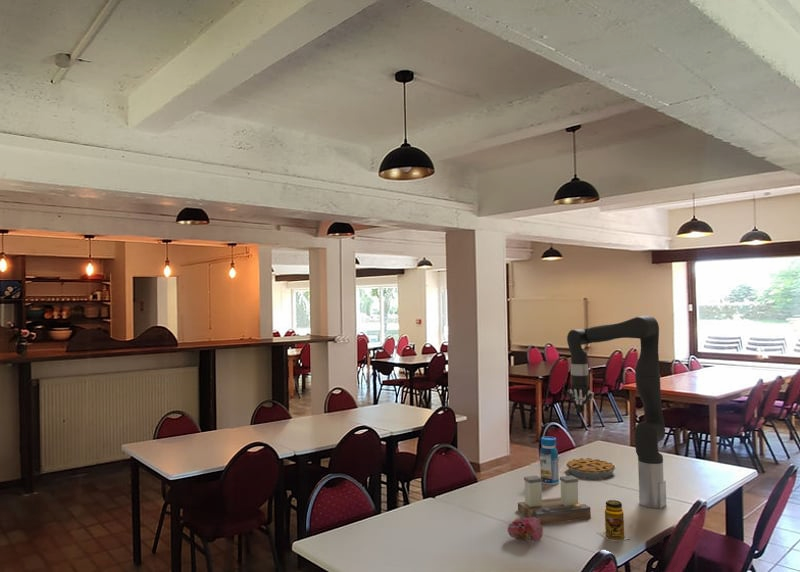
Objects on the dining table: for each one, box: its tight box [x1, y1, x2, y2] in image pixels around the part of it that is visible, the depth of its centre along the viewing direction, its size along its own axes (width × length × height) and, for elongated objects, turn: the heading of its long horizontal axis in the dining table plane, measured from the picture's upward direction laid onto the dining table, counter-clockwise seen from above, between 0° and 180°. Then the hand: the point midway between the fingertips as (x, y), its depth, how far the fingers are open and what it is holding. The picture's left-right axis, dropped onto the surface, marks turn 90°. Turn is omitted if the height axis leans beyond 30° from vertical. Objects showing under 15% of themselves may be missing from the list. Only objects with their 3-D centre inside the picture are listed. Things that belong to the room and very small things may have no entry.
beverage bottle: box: [539, 436, 560, 486], centre depth 262 cm, size 8×8×20 cm
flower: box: [507, 517, 544, 548], centre depth 198 cm, size 11×10×10 cm
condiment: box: [597, 499, 631, 543], centre depth 201 cm, size 7×8×12 cm
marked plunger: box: [559, 475, 579, 506], centre depth 223 cm, size 4×5×10 cm
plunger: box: [523, 475, 543, 507], centre depth 224 cm, size 4×5×10 cm
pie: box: [566, 457, 616, 480], centre depth 275 cm, size 22×22×5 cm
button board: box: [517, 496, 591, 526], centre depth 223 cm, size 16×22×5 cm
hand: (580, 412), depth 258 cm, fingers closed
